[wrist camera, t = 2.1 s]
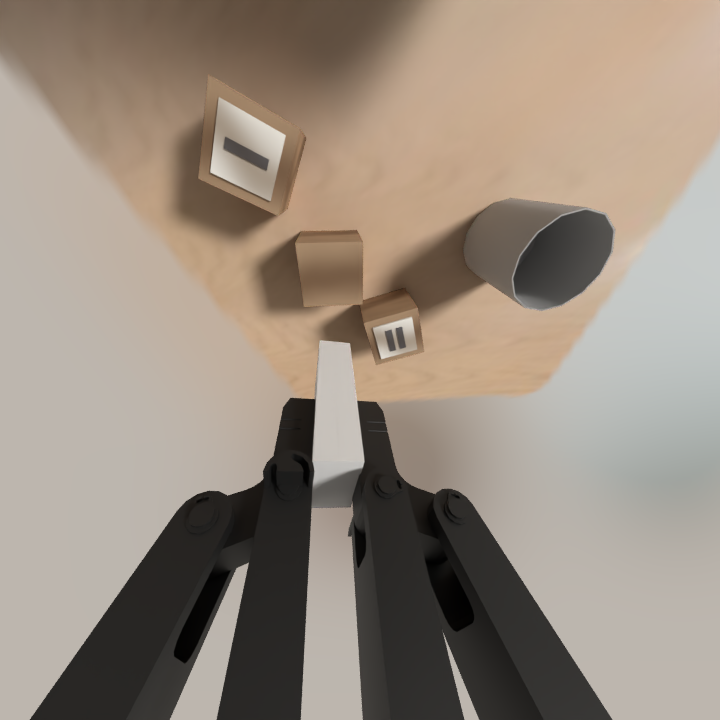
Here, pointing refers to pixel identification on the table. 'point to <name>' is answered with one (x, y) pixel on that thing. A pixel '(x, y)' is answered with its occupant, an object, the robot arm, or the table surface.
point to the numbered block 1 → (248, 149)
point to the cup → (539, 250)
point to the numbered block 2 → (392, 326)
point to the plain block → (330, 267)
